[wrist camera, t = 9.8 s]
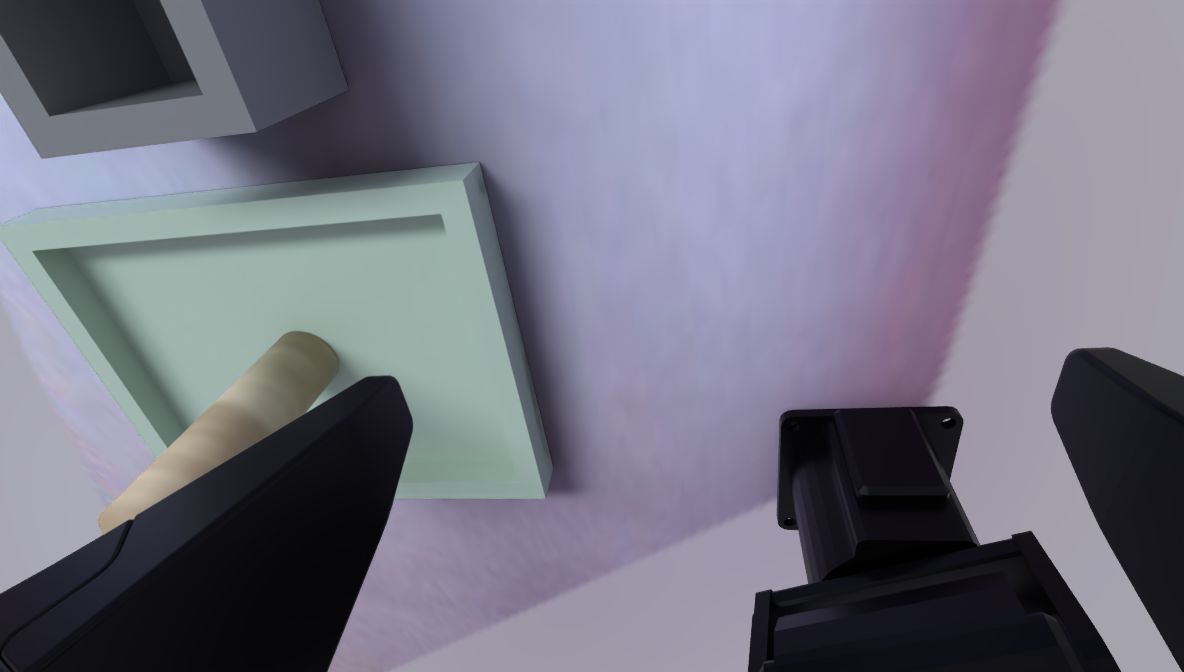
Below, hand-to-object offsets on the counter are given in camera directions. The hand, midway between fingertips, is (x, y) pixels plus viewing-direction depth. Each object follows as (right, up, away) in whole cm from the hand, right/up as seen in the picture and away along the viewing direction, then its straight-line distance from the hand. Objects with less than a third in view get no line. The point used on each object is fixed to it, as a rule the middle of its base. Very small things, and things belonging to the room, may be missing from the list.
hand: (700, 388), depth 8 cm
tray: (-13, 0, +17) cm, 21 cm away
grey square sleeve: (-13, +11, +10) cm, 20 cm away
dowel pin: (-13, 0, +17) cm, 21 cm away
